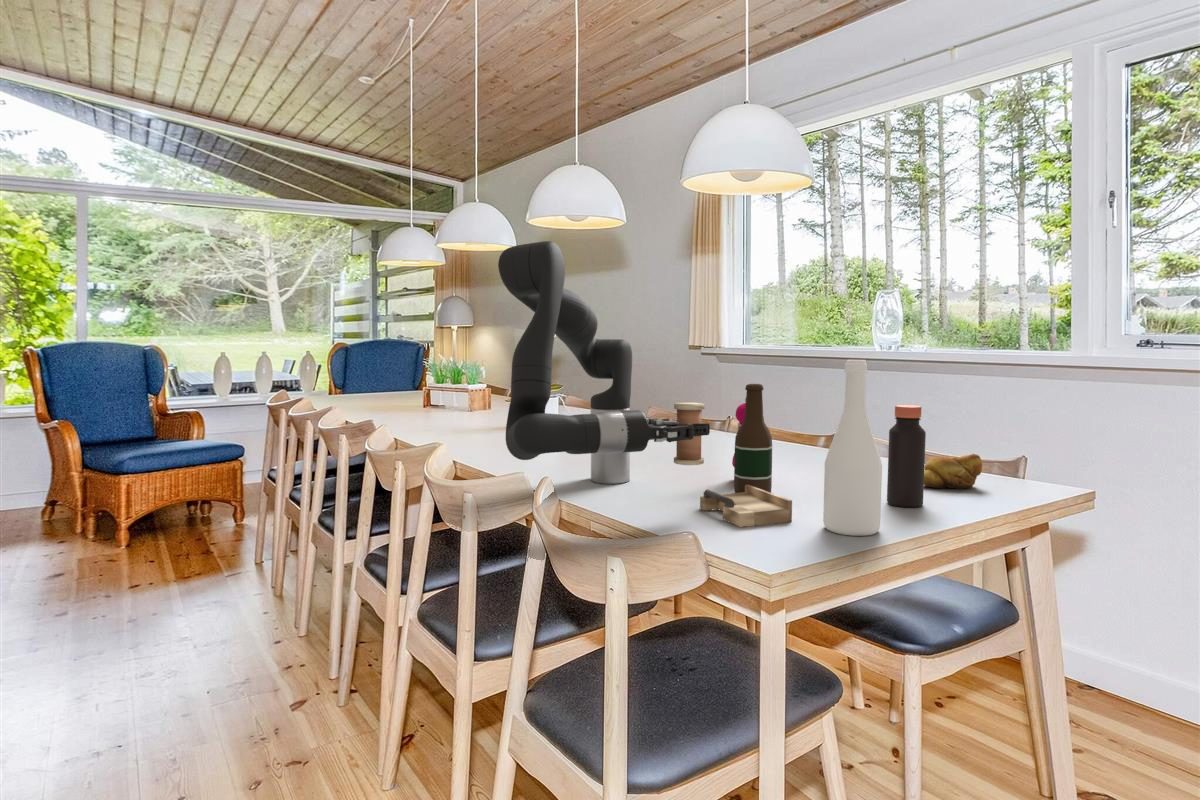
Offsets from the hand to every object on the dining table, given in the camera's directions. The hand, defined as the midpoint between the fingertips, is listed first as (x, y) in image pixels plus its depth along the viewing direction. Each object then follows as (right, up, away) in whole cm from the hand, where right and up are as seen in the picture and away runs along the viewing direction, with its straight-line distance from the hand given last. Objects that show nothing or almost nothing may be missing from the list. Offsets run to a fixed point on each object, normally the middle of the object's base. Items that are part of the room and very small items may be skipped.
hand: (701, 427), depth 138 cm
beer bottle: (+13, -16, +18) cm, 27 cm away
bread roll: (+59, -15, +28) cm, 67 cm away
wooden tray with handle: (+8, -17, +2) cm, 19 cm away
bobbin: (-3, -7, 0) cm, 7 cm away
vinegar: (+43, -16, +11) cm, 47 cm away
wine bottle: (+25, -18, -8) cm, 32 cm away
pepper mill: (+16, -14, +35) cm, 41 cm away
